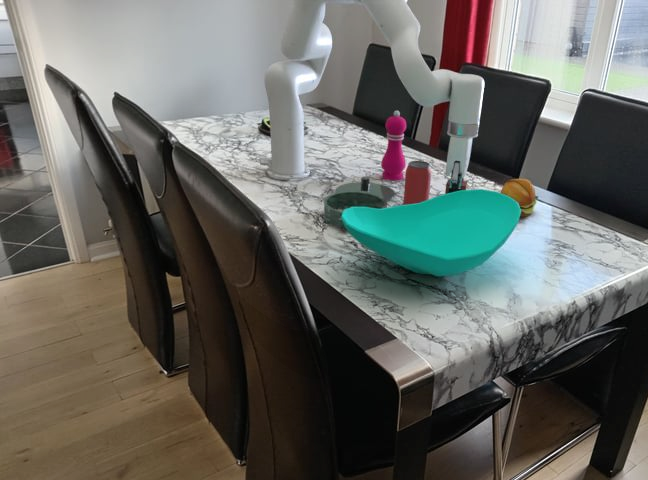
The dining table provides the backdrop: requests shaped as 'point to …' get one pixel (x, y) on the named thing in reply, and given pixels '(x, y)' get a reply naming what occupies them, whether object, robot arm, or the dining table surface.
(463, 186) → the dark brown block
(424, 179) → the beer can
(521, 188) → the cheeseburger
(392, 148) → the pepper mill
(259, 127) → the salad plate
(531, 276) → the dining table surface
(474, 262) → the table top decor
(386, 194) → the lid
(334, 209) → the pot
